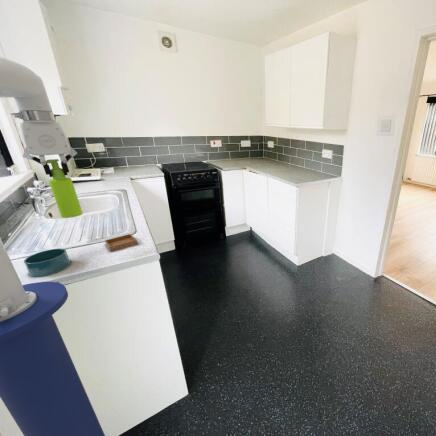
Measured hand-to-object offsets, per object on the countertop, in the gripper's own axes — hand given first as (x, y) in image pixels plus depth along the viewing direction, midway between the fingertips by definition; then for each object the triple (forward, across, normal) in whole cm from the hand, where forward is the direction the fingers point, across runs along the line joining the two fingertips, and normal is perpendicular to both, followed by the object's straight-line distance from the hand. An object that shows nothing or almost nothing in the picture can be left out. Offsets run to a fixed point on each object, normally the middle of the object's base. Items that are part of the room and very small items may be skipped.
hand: (58, 175), depth 83 cm
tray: (+31, +12, +2) cm, 34 cm away
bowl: (+31, -10, -2) cm, 33 cm away
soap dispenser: (+15, 0, 0) cm, 15 cm away
